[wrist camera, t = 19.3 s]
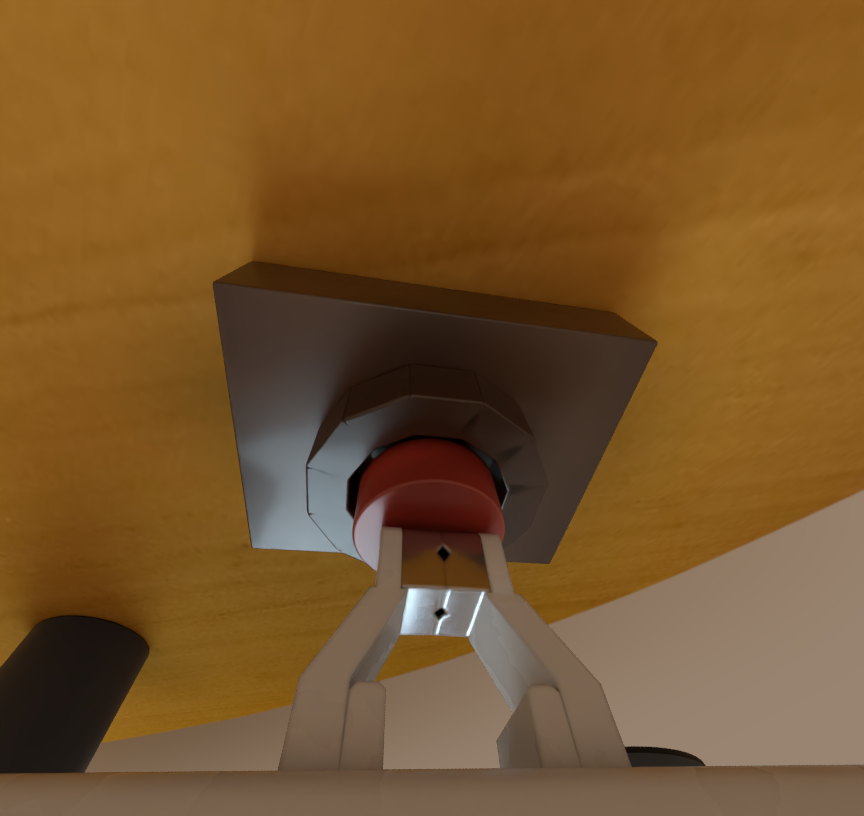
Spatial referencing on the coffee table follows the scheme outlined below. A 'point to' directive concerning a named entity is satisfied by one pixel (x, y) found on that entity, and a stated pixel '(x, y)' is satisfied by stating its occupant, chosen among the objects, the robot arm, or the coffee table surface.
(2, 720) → the spray bottle
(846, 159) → the coffee table surface
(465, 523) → the button
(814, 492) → the coffee table surface
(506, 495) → the button block
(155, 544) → the coffee table surface
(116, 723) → the coffee table surface
